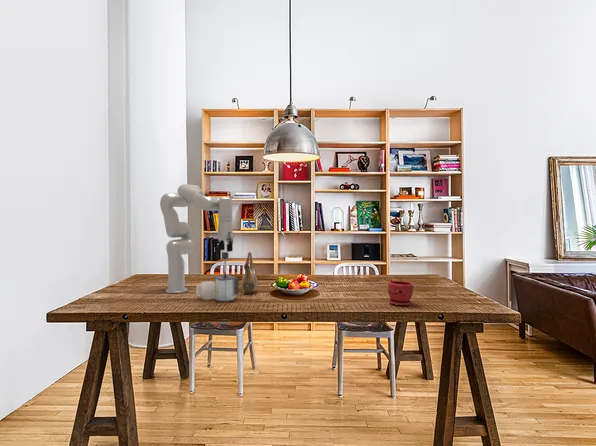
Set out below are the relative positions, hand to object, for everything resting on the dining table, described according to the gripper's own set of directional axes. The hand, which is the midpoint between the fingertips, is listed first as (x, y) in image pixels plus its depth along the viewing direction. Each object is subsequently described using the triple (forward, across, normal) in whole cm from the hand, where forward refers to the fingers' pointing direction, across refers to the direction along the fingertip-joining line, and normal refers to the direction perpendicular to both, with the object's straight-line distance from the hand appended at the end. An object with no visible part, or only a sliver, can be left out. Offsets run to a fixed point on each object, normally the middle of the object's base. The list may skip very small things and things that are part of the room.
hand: (225, 250), depth 221 cm
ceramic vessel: (+28, -9, +20) cm, 35 cm away
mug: (+27, -11, -8) cm, 30 cm away
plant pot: (+29, +61, +73) cm, 99 cm away
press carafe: (+28, -1, +1) cm, 28 cm away
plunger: (+17, -1, 0) cm, 17 cm away
